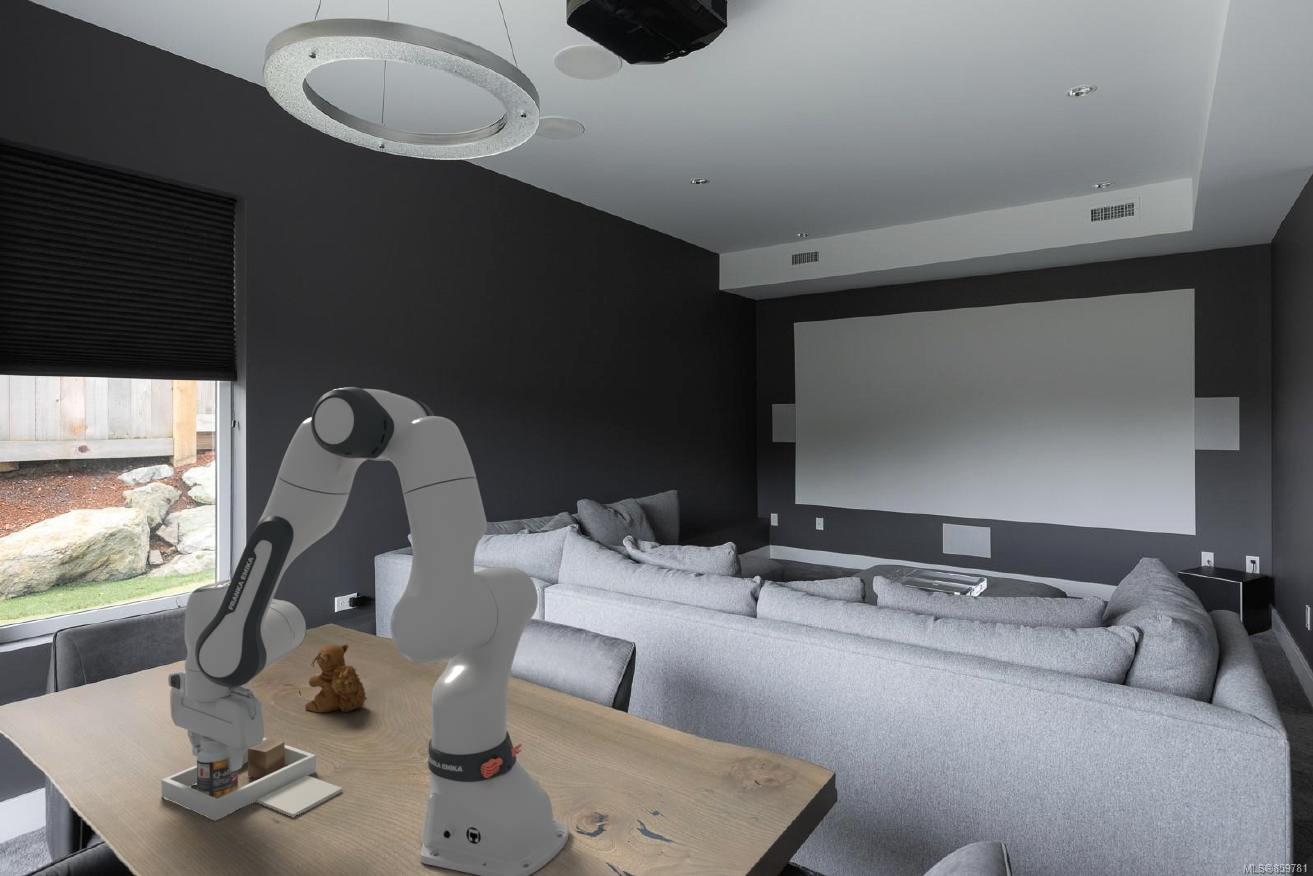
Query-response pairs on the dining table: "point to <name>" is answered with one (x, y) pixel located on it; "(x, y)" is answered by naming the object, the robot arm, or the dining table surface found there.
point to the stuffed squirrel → (336, 682)
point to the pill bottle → (215, 769)
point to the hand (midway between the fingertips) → (217, 762)
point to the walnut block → (266, 758)
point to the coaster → (300, 796)
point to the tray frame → (216, 808)
